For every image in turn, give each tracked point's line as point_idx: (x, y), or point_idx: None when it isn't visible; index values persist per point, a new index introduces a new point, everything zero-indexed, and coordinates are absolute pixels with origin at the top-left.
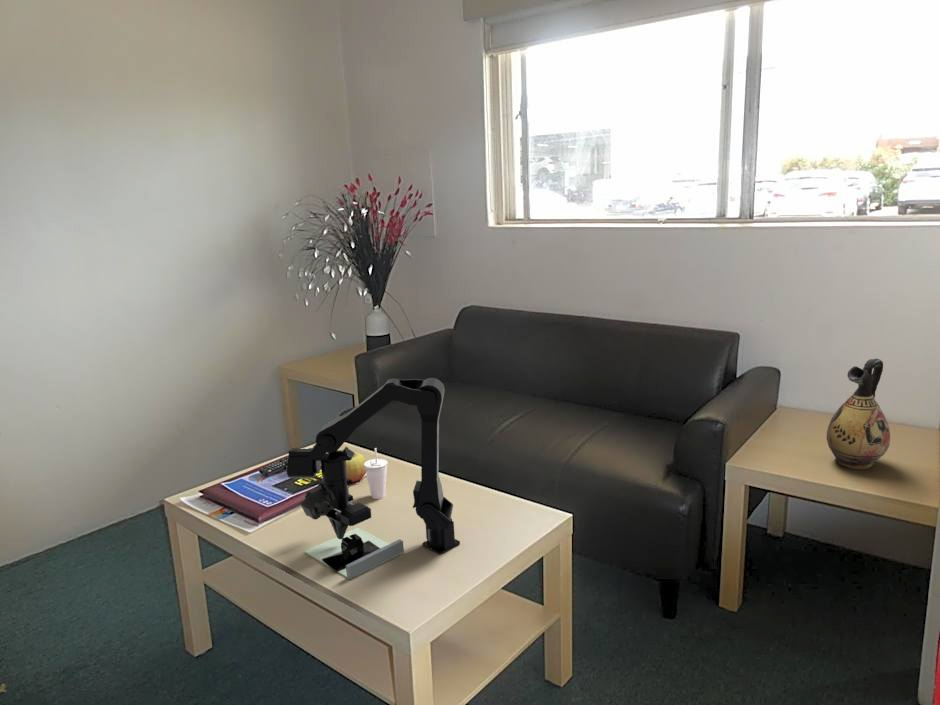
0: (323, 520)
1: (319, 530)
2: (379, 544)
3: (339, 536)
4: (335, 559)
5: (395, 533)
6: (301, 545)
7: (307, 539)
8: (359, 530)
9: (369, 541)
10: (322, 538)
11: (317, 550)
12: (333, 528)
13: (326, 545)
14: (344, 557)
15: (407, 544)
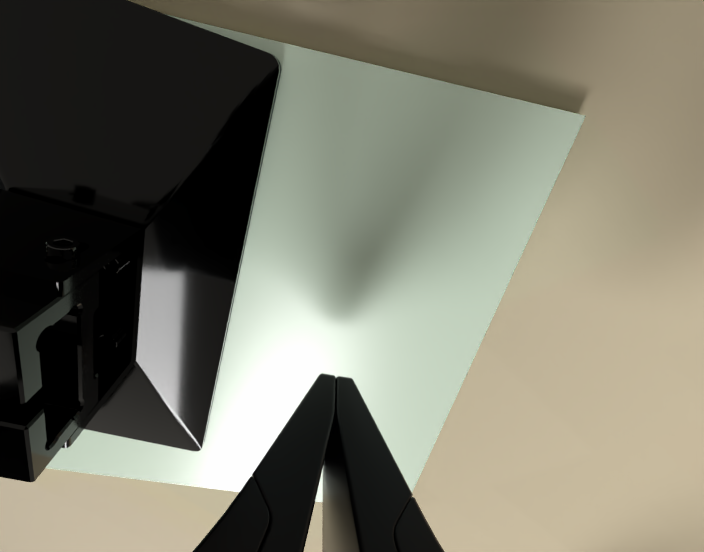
0: (674, 491)
1: (639, 413)
2: (116, 448)
3: (307, 394)
4: (118, 116)
5: (174, 539)
6: (684, 200)
7: (674, 296)
8: None
9: (184, 446)
10: (554, 354)
11: (465, 192)
12: (389, 461)
13: (443, 291)
14: (54, 182)
15: (12, 500)
